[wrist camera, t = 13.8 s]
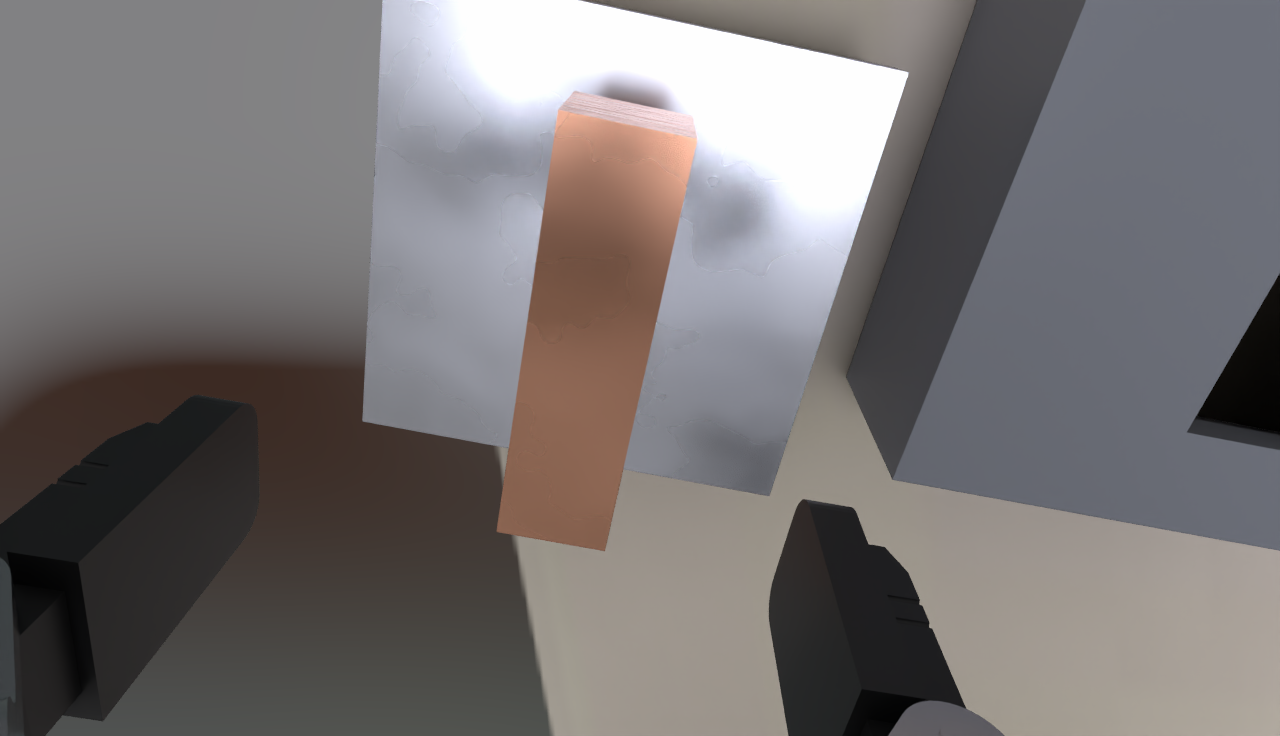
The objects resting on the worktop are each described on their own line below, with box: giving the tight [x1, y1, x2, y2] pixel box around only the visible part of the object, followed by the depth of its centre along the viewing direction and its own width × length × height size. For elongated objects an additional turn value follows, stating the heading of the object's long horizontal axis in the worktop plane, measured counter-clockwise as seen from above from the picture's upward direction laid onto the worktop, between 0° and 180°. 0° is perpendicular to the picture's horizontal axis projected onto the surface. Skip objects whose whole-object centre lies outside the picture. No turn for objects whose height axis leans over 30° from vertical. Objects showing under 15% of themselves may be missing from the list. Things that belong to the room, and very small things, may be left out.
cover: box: [363, 0, 908, 551], centre depth 19 cm, size 12×12×9 cm
